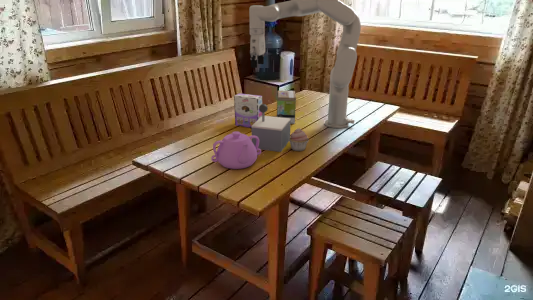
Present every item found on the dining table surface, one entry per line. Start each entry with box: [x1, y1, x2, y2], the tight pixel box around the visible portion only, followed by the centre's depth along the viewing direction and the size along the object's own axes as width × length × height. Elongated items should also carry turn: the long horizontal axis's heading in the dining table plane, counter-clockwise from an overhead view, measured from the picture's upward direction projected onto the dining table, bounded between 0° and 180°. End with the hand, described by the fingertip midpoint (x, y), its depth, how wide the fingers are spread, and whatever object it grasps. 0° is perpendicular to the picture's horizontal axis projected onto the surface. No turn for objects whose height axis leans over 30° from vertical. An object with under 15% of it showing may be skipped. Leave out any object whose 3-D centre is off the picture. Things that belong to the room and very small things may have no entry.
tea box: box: [276, 90, 297, 125], centre depth 226 cm, size 15×10×15 cm
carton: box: [251, 120, 291, 153], centre depth 194 cm, size 14×16×10 cm
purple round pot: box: [210, 130, 262, 170], centre depth 171 cm, size 22×22×14 cm
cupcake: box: [288, 127, 310, 152], centre depth 188 cm, size 9×9×10 cm
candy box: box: [233, 92, 263, 129], centre depth 217 cm, size 14×6×16 cm, turn 65°
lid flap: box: [251, 103, 291, 131], centre depth 190 cm, size 14×16×9 cm
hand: (257, 65), depth 214 cm, fingers open, 9 cm apart
